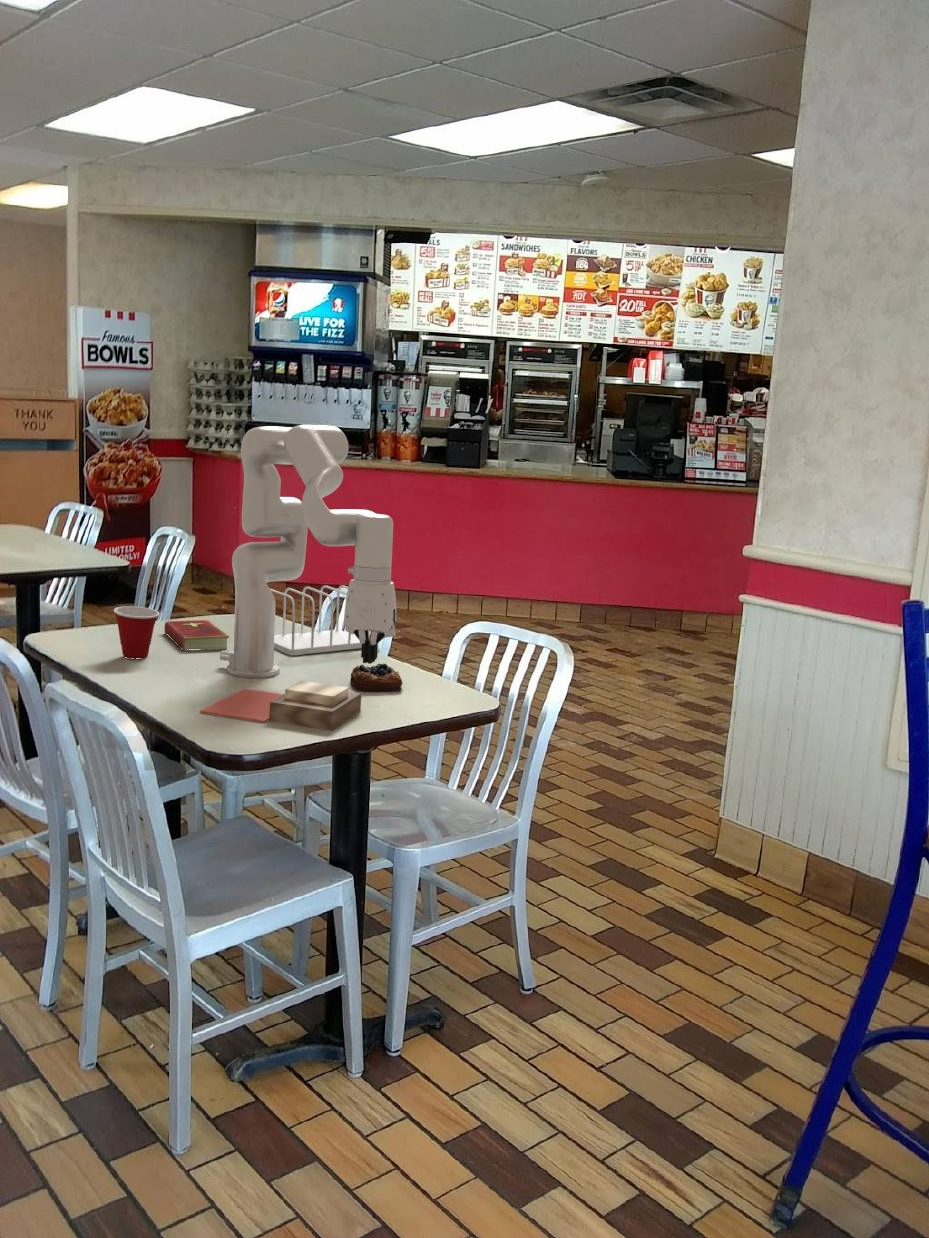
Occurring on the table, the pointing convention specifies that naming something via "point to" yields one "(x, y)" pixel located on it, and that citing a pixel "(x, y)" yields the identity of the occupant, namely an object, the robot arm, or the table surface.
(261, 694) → the mat
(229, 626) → the table surface
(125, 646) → the plastic cup
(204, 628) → the hardcover book
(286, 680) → the table surface
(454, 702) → the table surface
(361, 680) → the pastry
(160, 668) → the table surface
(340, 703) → the square wooden slab
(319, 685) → the light wooden block
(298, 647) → the file sorter
